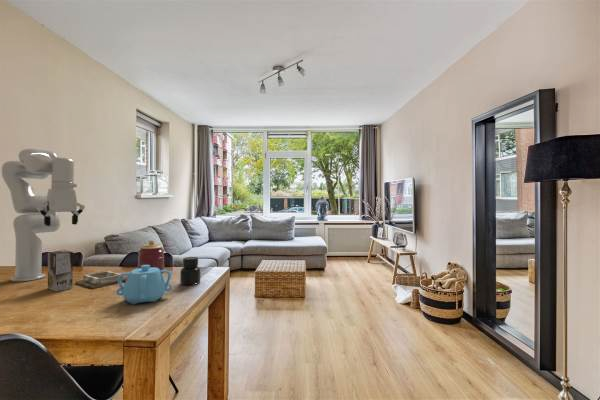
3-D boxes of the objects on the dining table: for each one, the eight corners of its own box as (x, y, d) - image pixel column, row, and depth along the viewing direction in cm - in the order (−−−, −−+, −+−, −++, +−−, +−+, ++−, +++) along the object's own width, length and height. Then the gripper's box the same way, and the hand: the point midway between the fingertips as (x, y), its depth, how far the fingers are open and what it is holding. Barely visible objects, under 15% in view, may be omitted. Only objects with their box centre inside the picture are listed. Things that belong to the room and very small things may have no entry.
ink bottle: (204, 281, 143) (204, 256, 144) (195, 286, 135) (196, 260, 135) (185, 280, 144) (185, 256, 145) (175, 285, 136) (176, 259, 136)
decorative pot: (111, 302, 113) (112, 266, 113) (150, 291, 127) (150, 259, 127) (137, 310, 105) (137, 272, 105) (175, 297, 119) (176, 263, 119)
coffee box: (73, 288, 129) (73, 251, 130) (55, 292, 124) (55, 253, 124) (64, 284, 134) (65, 249, 134) (46, 288, 129) (47, 251, 129)
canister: (131, 275, 153) (132, 241, 153) (148, 269, 166) (148, 238, 166) (154, 276, 151) (154, 242, 151) (169, 270, 164) (169, 239, 164)
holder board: (75, 283, 137) (75, 276, 137) (111, 276, 151) (111, 269, 151) (92, 289, 129) (92, 281, 129) (129, 280, 142) (129, 273, 143)
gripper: (81, 187, 139) (80, 223, 139) (33, 185, 124) (32, 225, 124) (88, 187, 135) (87, 224, 135) (41, 185, 120) (40, 226, 120)
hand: (61, 224), depth 129 cm, fingers open, 9 cm apart
